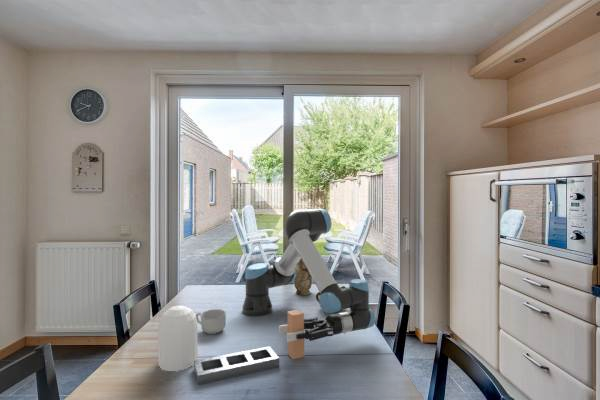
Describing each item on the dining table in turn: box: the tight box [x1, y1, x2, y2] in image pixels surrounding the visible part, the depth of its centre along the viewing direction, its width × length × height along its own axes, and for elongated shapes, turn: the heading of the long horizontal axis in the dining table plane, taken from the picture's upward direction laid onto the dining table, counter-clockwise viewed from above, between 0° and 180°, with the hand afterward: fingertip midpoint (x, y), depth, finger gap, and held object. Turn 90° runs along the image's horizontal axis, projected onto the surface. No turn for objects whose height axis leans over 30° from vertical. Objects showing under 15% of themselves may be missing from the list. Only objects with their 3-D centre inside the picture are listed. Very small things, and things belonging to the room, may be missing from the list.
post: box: [286, 309, 305, 360], centre depth 127 cm, size 5×5×16 cm
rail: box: [193, 345, 280, 386], centre depth 119 cm, size 10×27×3 cm, turn 114°
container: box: [157, 305, 199, 372], centre depth 123 cm, size 14×13×20 cm
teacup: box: [195, 308, 227, 335], centre depth 151 cm, size 14×11×8 cm
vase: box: [293, 259, 313, 296], centre depth 207 cm, size 10×11×30 cm
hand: (283, 333), depth 125 cm, fingers open, 7 cm apart
